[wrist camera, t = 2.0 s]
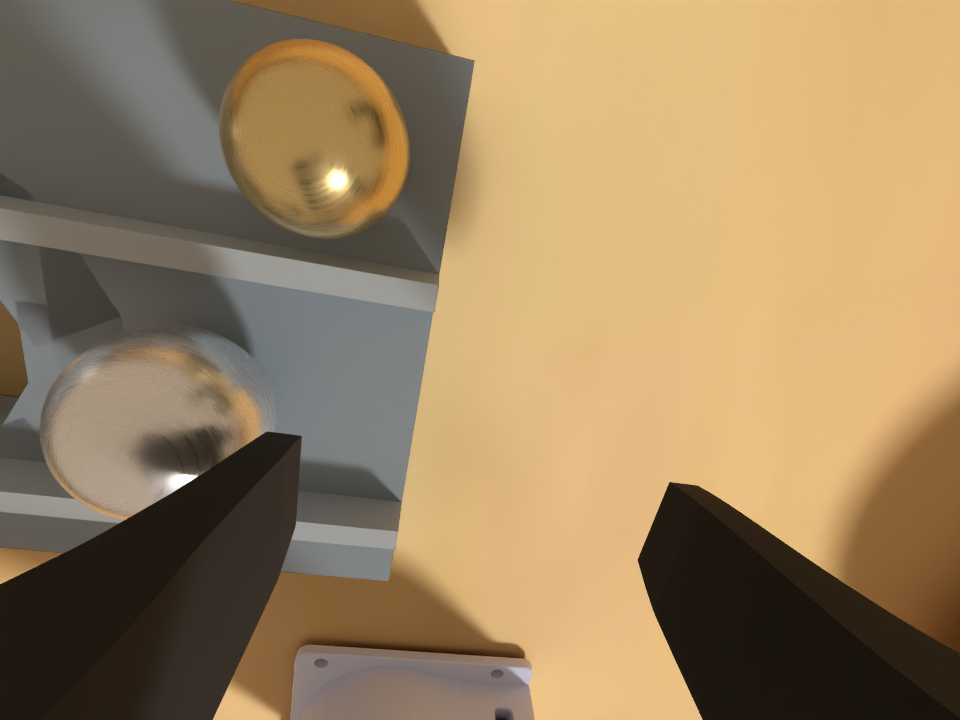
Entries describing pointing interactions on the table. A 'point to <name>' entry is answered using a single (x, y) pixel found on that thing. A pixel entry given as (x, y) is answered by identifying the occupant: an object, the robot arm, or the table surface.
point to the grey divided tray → (212, 252)
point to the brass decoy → (314, 138)
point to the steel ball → (151, 414)
